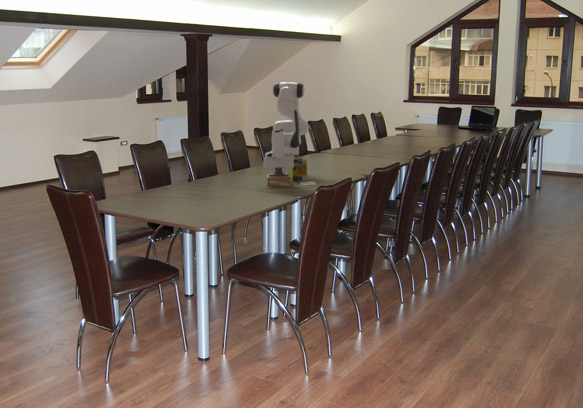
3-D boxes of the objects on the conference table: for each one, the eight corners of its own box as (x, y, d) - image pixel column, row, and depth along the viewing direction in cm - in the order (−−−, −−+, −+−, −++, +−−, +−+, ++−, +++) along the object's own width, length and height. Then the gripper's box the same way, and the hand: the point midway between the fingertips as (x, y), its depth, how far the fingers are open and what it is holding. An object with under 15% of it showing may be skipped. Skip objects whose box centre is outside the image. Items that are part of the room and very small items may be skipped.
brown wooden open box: (267, 183, 434) (267, 174, 432) (289, 183, 435) (289, 173, 433) (267, 186, 422) (267, 177, 421) (291, 186, 423) (291, 176, 422)
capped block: (275, 178, 431) (275, 166, 429) (281, 178, 431) (281, 166, 430) (275, 180, 425) (275, 168, 423) (282, 180, 425) (282, 168, 423)
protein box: (292, 182, 440) (292, 159, 436) (288, 178, 454) (287, 156, 451) (307, 181, 442) (307, 158, 438) (302, 178, 456) (302, 156, 453)
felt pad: (299, 183, 435) (299, 181, 435) (314, 182, 436) (314, 181, 436) (300, 186, 424) (300, 184, 423) (316, 185, 424) (316, 184, 424)
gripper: (293, 152, 428) (294, 173, 431) (262, 153, 427) (263, 174, 430) (294, 154, 422) (294, 174, 425) (263, 154, 421) (263, 175, 424)
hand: (278, 174), depth 427 cm, fingers closed on capped block, 4 cm apart
